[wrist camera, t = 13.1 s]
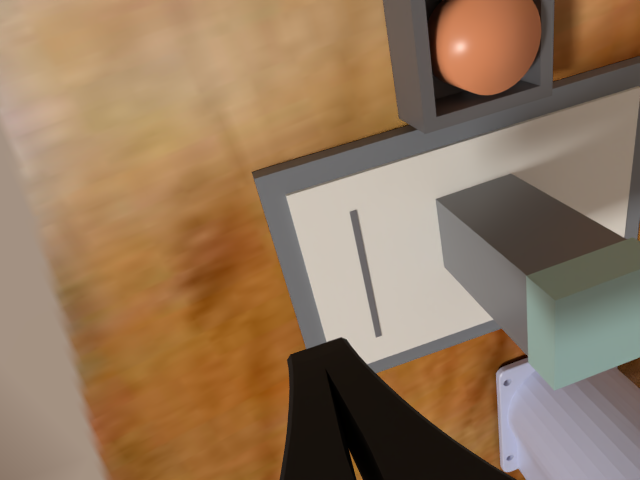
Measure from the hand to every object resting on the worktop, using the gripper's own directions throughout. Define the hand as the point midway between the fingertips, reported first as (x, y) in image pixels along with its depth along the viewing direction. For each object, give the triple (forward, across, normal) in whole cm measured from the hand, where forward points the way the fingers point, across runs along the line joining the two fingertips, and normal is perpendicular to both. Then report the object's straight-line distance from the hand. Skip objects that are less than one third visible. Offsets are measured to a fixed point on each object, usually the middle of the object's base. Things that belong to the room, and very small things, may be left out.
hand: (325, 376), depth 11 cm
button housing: (+10, -9, -4) cm, 14 cm away
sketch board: (+10, -9, +4) cm, 14 cm away
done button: (+9, -9, -4) cm, 14 cm away
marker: (+9, -9, +3) cm, 13 cm away
